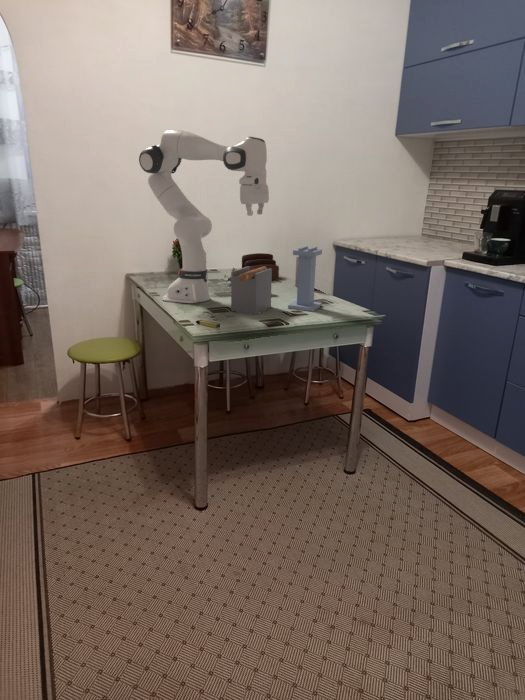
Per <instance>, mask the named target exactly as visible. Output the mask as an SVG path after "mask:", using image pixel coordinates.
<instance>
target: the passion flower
mask: <svg viewBox="0 0 525 700" xmlns="http://www.w3.org/2000/svg"><path fill="white" fill-rule="evenodd" d="M235 270H238V269H237V268H235V267H232V271H235ZM232 271H231V272H232ZM224 277H225V278H227V280H226V282H225V283H228V282H230V283H229V286H231V276H227V275H226V274H224Z"/></svg>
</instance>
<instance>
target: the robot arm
mask: <svg viewBox="0 0 525 700" xmlns="http://www.w3.org/2000/svg"><path fill="white" fill-rule="evenodd" d="M267 155H268V154H267V142H266V141H265V140H264V139H263V138H259V137H256V136H255V137H254V136H247V137H246V138H245V139H244V140H243V141H240V142H239V143H236V144H234V145H231V146H226V145H221V144H219V143H217V142H214V141H212V140H209V139H207V138H204V137H203V136H201V135H198V134H196V133H194V132H189V131H185V130H182V129H168V130H165V131H163V133H162V134H161V137H160V143H159V144H158V145H156V144H153V145H151V146H149V147H147V148H145V149H143V150H142V151H141V152H140V154H139V157H138V163H139V166H140V168H141V169H142V170H143V171H144V172H145V173H147V174H149V176H148V179H147V182H148V185H149V187H150V189H151V191H152V193H153V195H154V196H155V198H156V199H157V201H158V202H159V203H160V205H161V206H162V207H163V209H164V210H165V211H166V213H167V214H168V215H169V216H171V217H172V218H174V219H175V220H176V221H175V223H174V226H173V233H174V236H175V237H176V238H177V240H178V242H179V245H180V250H181V255H182V257H181V259H182V261H181V262H182V268H180V269H179V271H178V274H177V275H178V278H176V279H175V280H173V282H172V283H170V284H169V285H168V288H167V291H166V294H165V295H163V296H162V301H163V300H164V301H163V302H171V303H183V304H185V303H186V304H195V303H202V302H207V301H209V300H211V296H210V294H209V288H208V277H209V276H208V269H207V252H206V250H205V249H204V246H203V242H202V239H204V238H205V237H207V236H208V235H210V233H211V232H212V229H213V224H212V222H211V220H210V218H209V217H207V216H206V215H205V214H203V213H202V211H201V210H199V209H198V208H197V207H196V206H195V205H194V204H193V203H192V202H191V201H190V200H189V198H188V197H186V195H185V194H184V192H183V190H181V189H180V187H179V186H178V184H177V183H176V182H175V180H174V179H173V178H172V174H175V173H176V171H177V170H178V168H179V166H180V165H181V164H182V160H188V161H212V160H213V161H221V162H223V164H224V166H225V168H227V169H228V170H229V171H233V172H244V175H242V177H240V179H239V181H238V183H239V185H240V186H239V199H240V204H242V205H245V208H246V213H247V214H246V215H247V216H249V217H250V216H253V214H254V212H253V210H252V207H253V205H256V204H257V205H258V208H257V211H256V214H257V215H263V211H264V208H265V204H267V203H269V200H270V197H269V196H270V195H269V193H270V192H269V191H270V190H269V186H268V184H267V169H266V166H267V162H268V161H267V158H268V156H267Z"/></svg>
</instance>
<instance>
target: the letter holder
mask: <svg viewBox="0 0 525 700" xmlns="http://www.w3.org/2000/svg"><path fill="white" fill-rule="evenodd" d="M247 266H250V271H251V270H254V269H257V268H260V267H263V266H265V267H267V269H270V268H271V269H272V280H278V279H279V278H280V266H279V265H277V261H276V260H275V259H274V255H273V254H272V253H259V252H258V253H257V252H256V253H249V254H243V255H242V256H241V268H244V267H247Z"/></svg>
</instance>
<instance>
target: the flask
mask: <svg viewBox="0 0 525 700" xmlns="http://www.w3.org/2000/svg"><path fill="white" fill-rule="evenodd" d="M298 262H299V256H296V259H295V285H294V286H295V287H296V288H297V285H298Z"/></svg>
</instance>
